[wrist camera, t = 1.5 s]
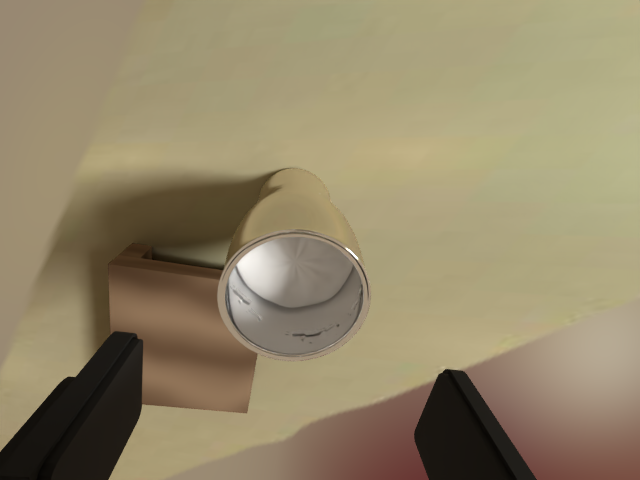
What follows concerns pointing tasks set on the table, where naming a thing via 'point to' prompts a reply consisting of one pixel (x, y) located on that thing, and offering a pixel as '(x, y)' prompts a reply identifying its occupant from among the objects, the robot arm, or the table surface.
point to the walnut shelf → (179, 333)
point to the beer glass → (294, 273)
